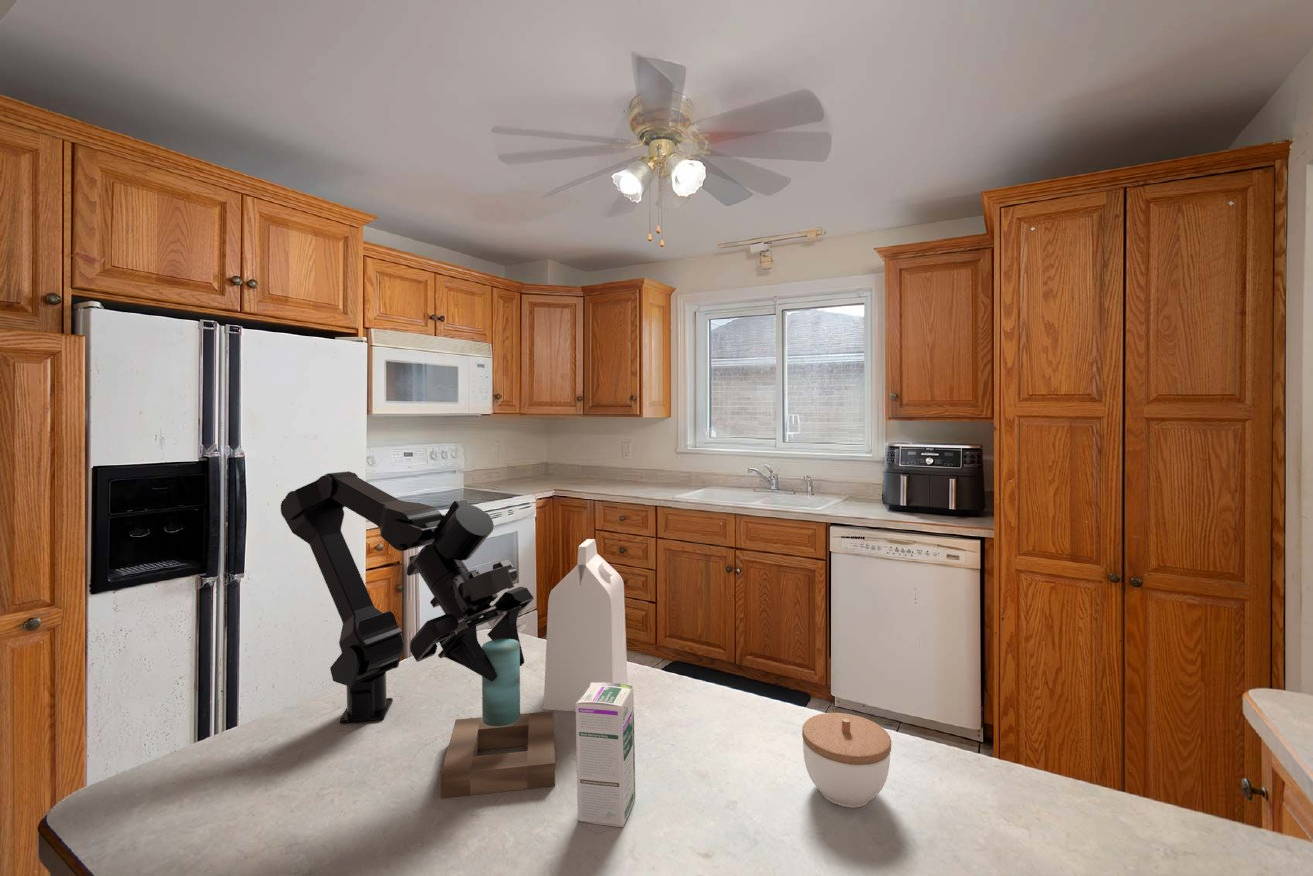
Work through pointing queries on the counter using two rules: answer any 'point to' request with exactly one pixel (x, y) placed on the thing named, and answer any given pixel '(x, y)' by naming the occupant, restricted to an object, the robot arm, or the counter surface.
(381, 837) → the counter surface
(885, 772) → the lidded jar
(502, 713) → the teal peg
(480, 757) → the walnut socket block
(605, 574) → the milk
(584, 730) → the syrup box
